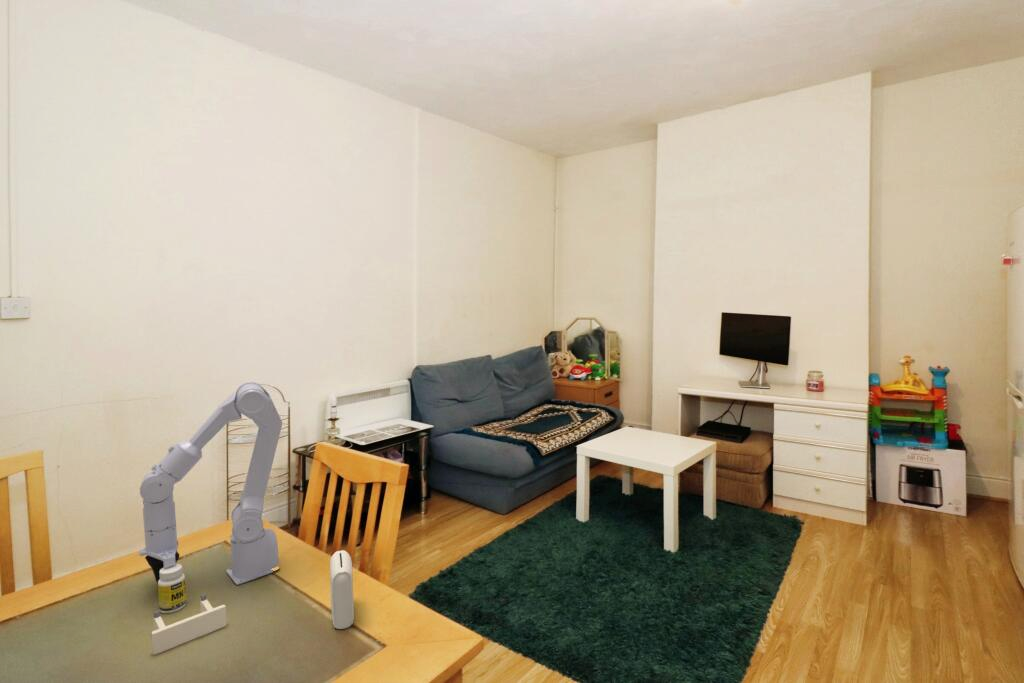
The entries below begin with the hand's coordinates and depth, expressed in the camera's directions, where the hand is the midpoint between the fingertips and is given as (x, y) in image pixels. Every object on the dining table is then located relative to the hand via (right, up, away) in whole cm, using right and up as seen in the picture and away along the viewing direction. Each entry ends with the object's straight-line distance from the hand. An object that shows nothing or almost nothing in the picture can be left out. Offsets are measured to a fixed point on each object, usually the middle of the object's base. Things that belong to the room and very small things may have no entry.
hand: (164, 585), depth 115 cm
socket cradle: (+12, -3, -12) cm, 18 cm away
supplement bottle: (+5, -2, -5) cm, 8 cm away
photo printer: (+41, -3, -8) cm, 42 cm away
